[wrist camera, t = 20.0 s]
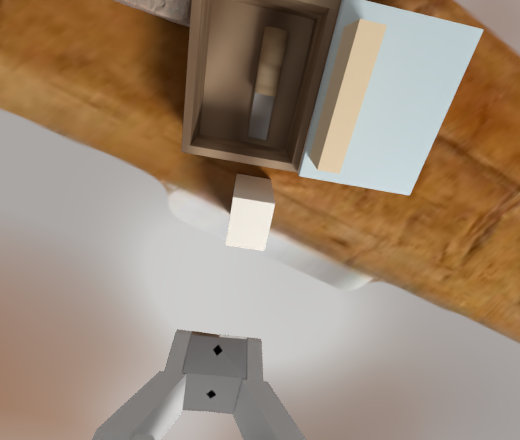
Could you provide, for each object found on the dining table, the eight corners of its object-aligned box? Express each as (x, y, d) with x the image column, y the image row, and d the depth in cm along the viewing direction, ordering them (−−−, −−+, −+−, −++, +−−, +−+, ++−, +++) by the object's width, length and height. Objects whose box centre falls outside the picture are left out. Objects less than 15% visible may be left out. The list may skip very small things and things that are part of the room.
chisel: (287, 33, 30) (289, 30, 28) (266, 139, 35) (267, 143, 33) (264, 28, 30) (265, 25, 28) (246, 135, 35) (246, 139, 33)
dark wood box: (322, 13, 30) (341, -2, 24) (289, 155, 37) (297, 172, 31) (206, -14, 29) (194, -38, 23) (193, 138, 36) (181, 152, 29)
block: (270, 179, 38) (275, 203, 31) (262, 219, 41) (264, 250, 34) (236, 173, 38) (233, 197, 31) (230, 214, 40) (225, 245, 33)
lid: (475, 31, 25) (523, 22, 21) (405, 192, 32) (430, 211, 27) (342, -2, 24) (363, -19, 19) (297, 173, 30) (305, 190, 26)
